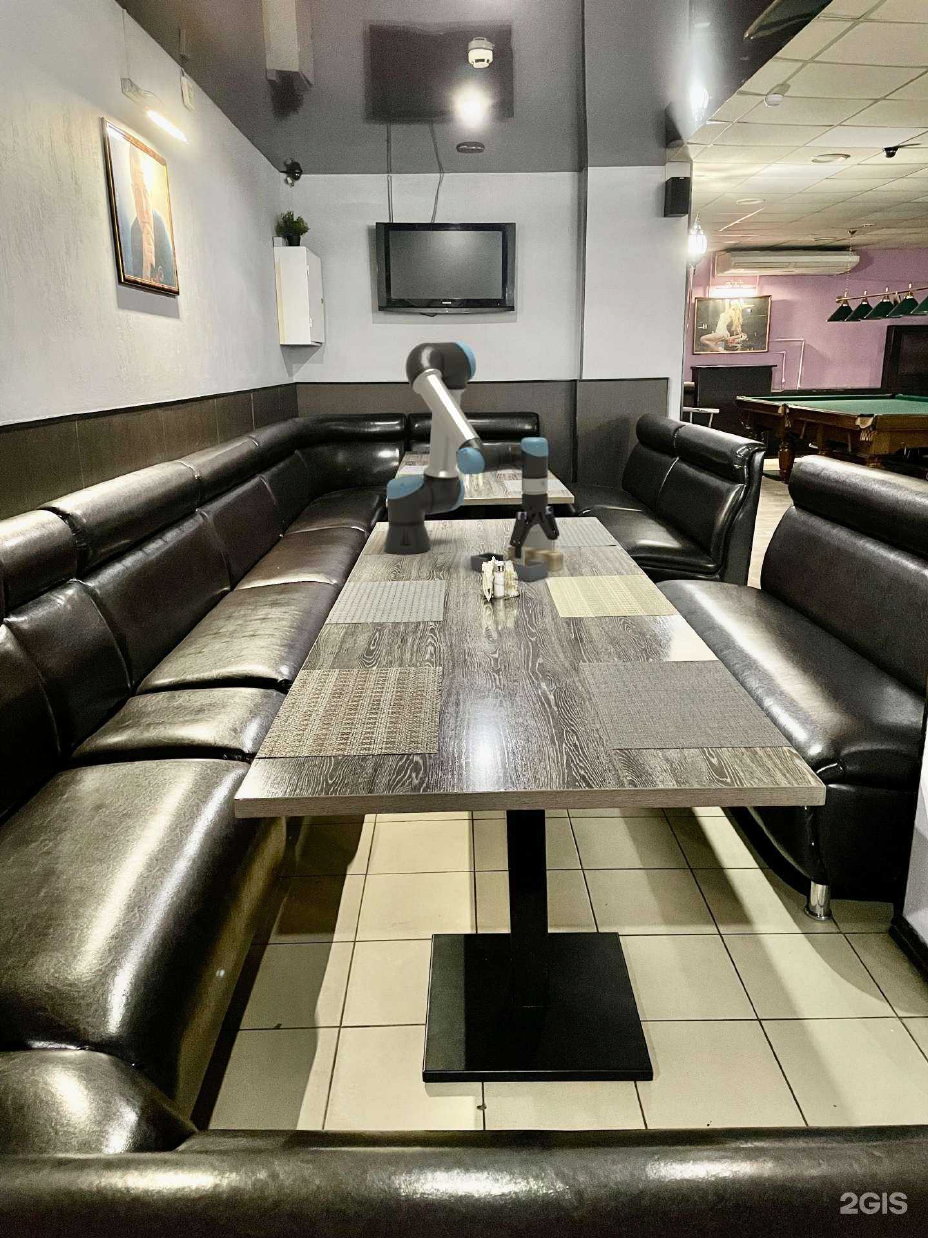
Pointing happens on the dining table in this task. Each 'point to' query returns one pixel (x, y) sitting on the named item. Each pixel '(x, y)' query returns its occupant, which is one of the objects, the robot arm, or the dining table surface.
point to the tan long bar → (539, 557)
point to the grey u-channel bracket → (483, 560)
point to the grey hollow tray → (532, 571)
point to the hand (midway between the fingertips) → (535, 565)
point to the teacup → (535, 538)
